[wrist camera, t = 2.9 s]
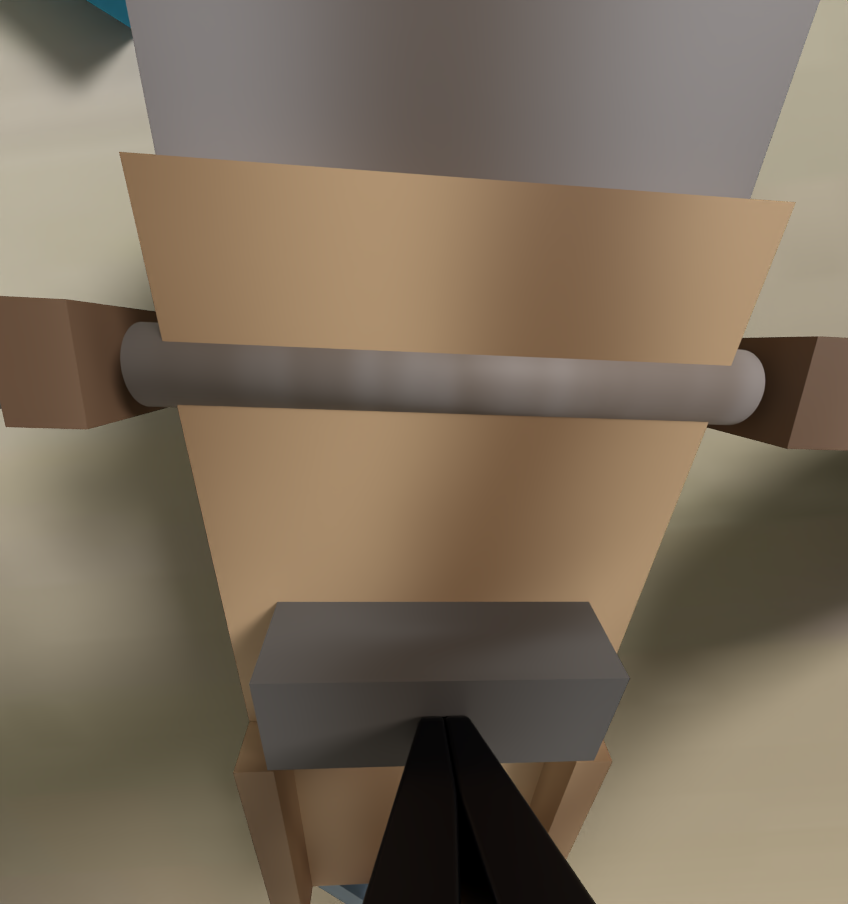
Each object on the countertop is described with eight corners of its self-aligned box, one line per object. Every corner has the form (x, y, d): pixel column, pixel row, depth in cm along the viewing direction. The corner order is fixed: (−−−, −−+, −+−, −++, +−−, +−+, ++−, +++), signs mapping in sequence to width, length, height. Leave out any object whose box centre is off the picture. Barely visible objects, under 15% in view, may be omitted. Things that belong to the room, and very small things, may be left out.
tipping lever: (651, 69, 9) (1365, -434, 2) (504, 703, 19) (559, 947, 12) (227, 30, 8) (-450, -827, 2) (307, 707, 18) (255, 966, 12)
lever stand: (632, 187, 14) (1133, -149, 4) (593, 442, 16) (870, 580, 7) (209, 155, 13) (-305, -362, 3) (231, 432, 15) (-44, 578, 6)
